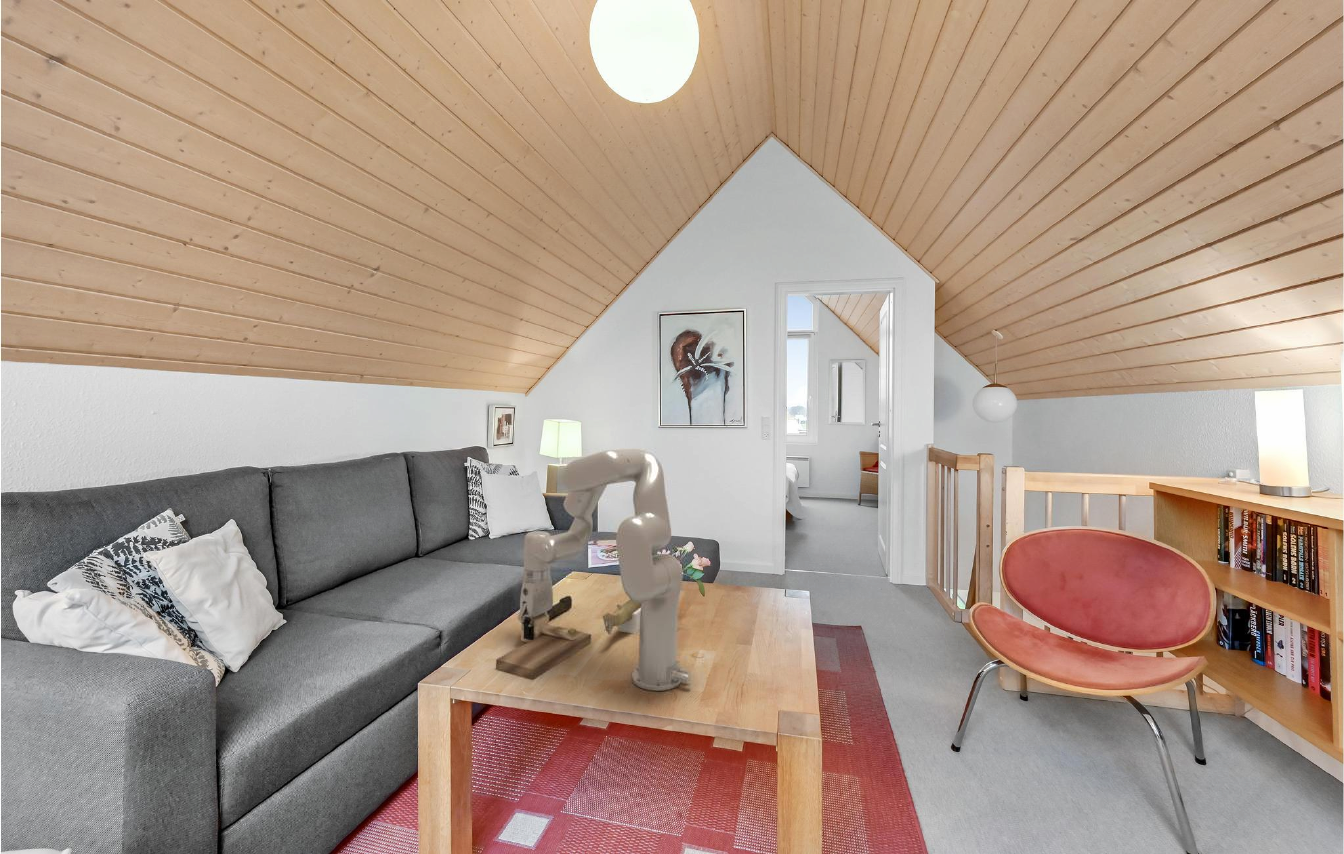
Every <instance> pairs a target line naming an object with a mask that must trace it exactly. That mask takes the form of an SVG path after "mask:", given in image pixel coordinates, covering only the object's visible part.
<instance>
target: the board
mask: <svg viewBox="0 0 1344 854" xmlns="http://www.w3.org/2000/svg"><path fill="white" fill-rule="evenodd" d="M558 627H559V628H562V627H561V626H558ZM563 628H564V629H568V630H570V629H571V628H565V627H563ZM576 631H577V638H576V639H574V640H569V639H565V638H561V637H557V636H553V635H548V634H543V635H541V636H539V637H537V638H535V639H533V640H532V641H530V642H526V643H524V644H522V645H521V646H519V647H517V648H514V649H513V650H511V651H509V652H507V653H506V654H504V655H502V656H500V657H498V658H496V659H495V660H496V661H495V662H496V663H495V669H496V670H499V671H503V672H505V673H509V674H513V675H516V676H519V677H523V678H526V679H530V680H535V679H537V678H538V677H540V676H541V675H543V674H544V673H546V672H547V671H549V670H550V669H552V668H554V667H555V666H557V665H559V664H560V663H561V662H563V661H565V660H566V659H568V658H570V657H571V656H572V655H574V654H576V653H578V652H579V651H580V650H582V649H583V648H585V647H586V646H588V645H589V644H591V643H592V634H591V633H587V632H582V631H579V630H576Z"/></svg>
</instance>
